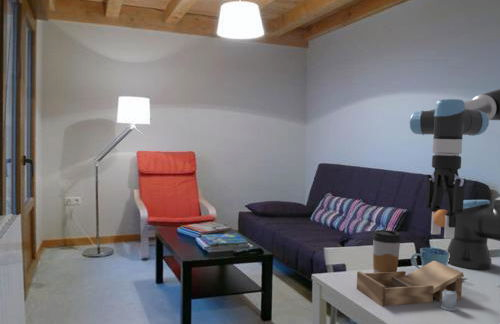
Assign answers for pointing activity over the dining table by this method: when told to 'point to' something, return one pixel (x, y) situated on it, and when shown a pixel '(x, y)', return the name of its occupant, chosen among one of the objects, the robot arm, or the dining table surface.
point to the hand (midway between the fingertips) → (442, 236)
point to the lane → (410, 284)
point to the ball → (440, 217)
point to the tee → (449, 300)
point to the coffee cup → (385, 250)
